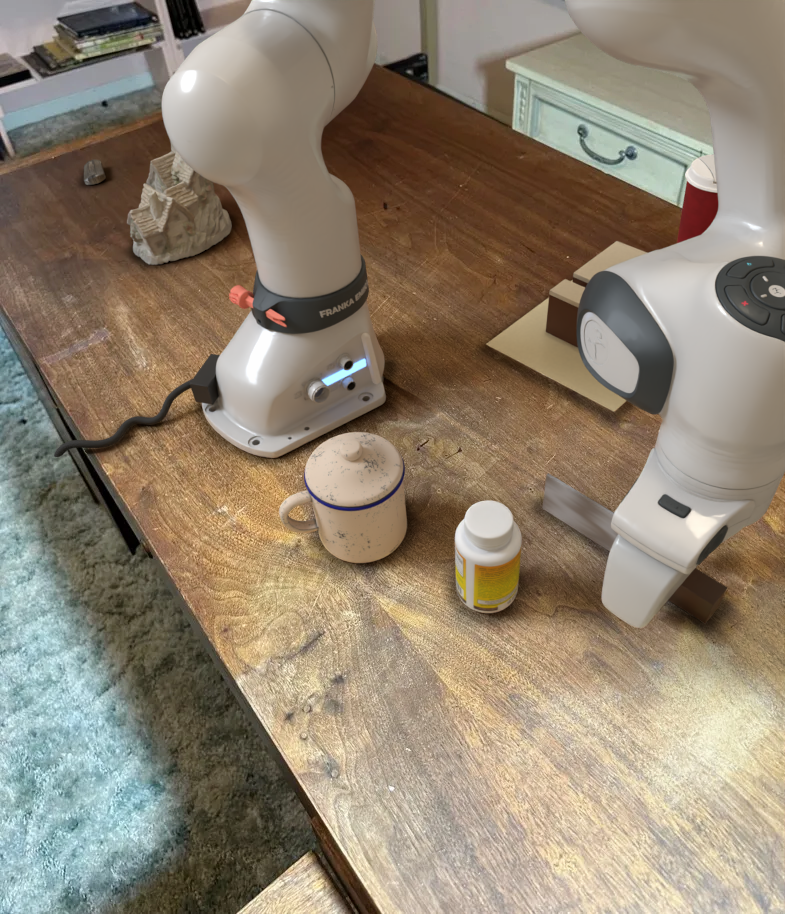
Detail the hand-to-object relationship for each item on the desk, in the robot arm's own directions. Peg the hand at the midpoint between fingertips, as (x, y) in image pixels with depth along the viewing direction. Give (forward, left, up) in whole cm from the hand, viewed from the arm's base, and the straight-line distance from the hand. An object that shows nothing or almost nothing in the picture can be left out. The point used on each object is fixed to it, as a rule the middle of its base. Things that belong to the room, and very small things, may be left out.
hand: (675, 577), depth 67 cm
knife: (0, +5, -2) cm, 5 cm away
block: (+8, +115, -2) cm, 115 cm away
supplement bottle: (-11, +12, -2) cm, 16 cm away
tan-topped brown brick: (+23, +24, -1) cm, 33 cm away
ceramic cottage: (+7, +88, -2) cm, 88 cm away
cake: (+30, +24, -1) cm, 39 cm away
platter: (+26, +25, -2) cm, 36 cm away
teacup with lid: (-15, +26, -2) cm, 30 cm away
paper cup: (+46, +24, -2) cm, 52 cm away
